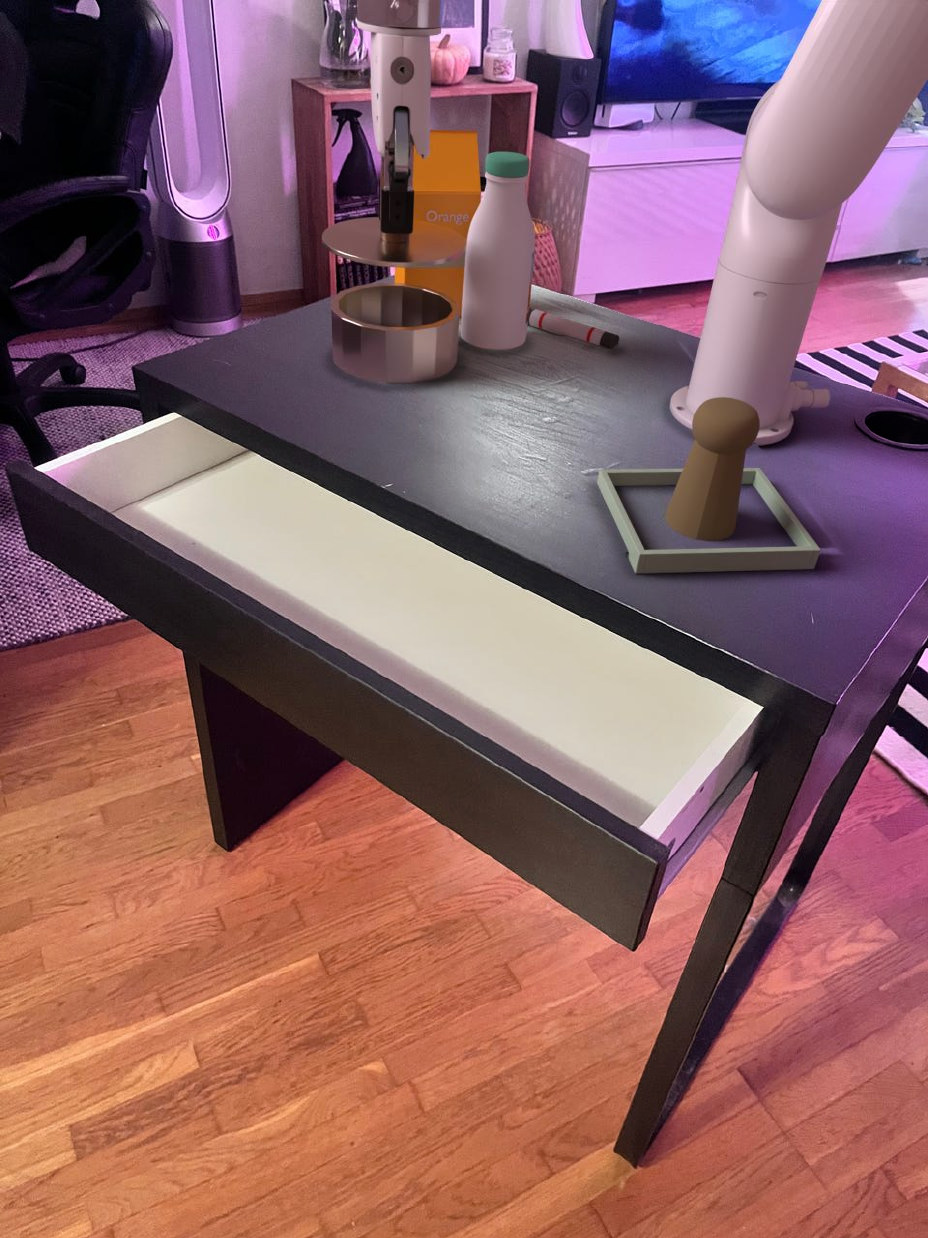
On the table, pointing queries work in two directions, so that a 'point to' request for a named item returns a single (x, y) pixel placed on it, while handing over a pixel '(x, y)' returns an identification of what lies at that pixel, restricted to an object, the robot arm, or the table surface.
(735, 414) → the brown chess pawn
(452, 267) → the orange juice
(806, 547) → the grey rectangular frame
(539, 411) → the table surface
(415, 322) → the pan
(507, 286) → the milk bottle
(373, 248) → the pan lid
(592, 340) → the marker
